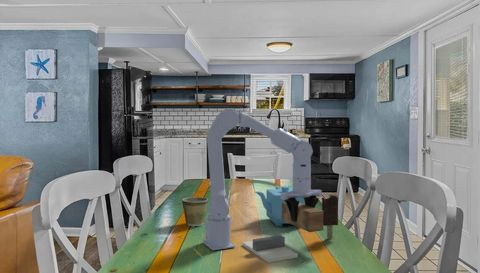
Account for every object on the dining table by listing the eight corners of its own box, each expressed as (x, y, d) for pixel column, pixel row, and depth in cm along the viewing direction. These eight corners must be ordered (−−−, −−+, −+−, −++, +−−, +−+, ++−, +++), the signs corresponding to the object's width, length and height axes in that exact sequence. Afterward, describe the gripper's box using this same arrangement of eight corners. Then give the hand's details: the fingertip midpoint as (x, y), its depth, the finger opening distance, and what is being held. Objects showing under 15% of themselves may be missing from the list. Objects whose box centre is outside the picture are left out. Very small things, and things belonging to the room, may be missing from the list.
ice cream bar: (323, 239, 126) (323, 195, 126) (321, 238, 128) (321, 194, 127) (338, 239, 126) (338, 195, 126) (336, 237, 128) (336, 194, 128)
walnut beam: (281, 220, 126) (281, 202, 126) (294, 218, 128) (294, 201, 128) (309, 232, 111) (309, 212, 111) (323, 230, 113) (323, 210, 113)
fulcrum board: (242, 245, 120) (242, 233, 120) (269, 241, 124) (269, 229, 124) (268, 262, 105) (268, 248, 105) (297, 257, 109) (298, 243, 109)
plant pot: (201, 229, 139) (200, 202, 139) (177, 226, 142) (177, 200, 142) (215, 221, 151) (215, 196, 151) (193, 219, 155) (193, 195, 154)
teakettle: (295, 232, 135) (295, 192, 134) (252, 224, 146) (252, 187, 145) (316, 221, 150) (316, 185, 150) (275, 215, 161) (276, 181, 161)
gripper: (289, 181, 112) (288, 225, 113) (327, 178, 119) (327, 220, 119) (277, 178, 119) (277, 220, 119) (314, 175, 125) (314, 215, 125)
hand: (301, 220), depth 119 cm, fingers closed on walnut beam, 5 cm apart
